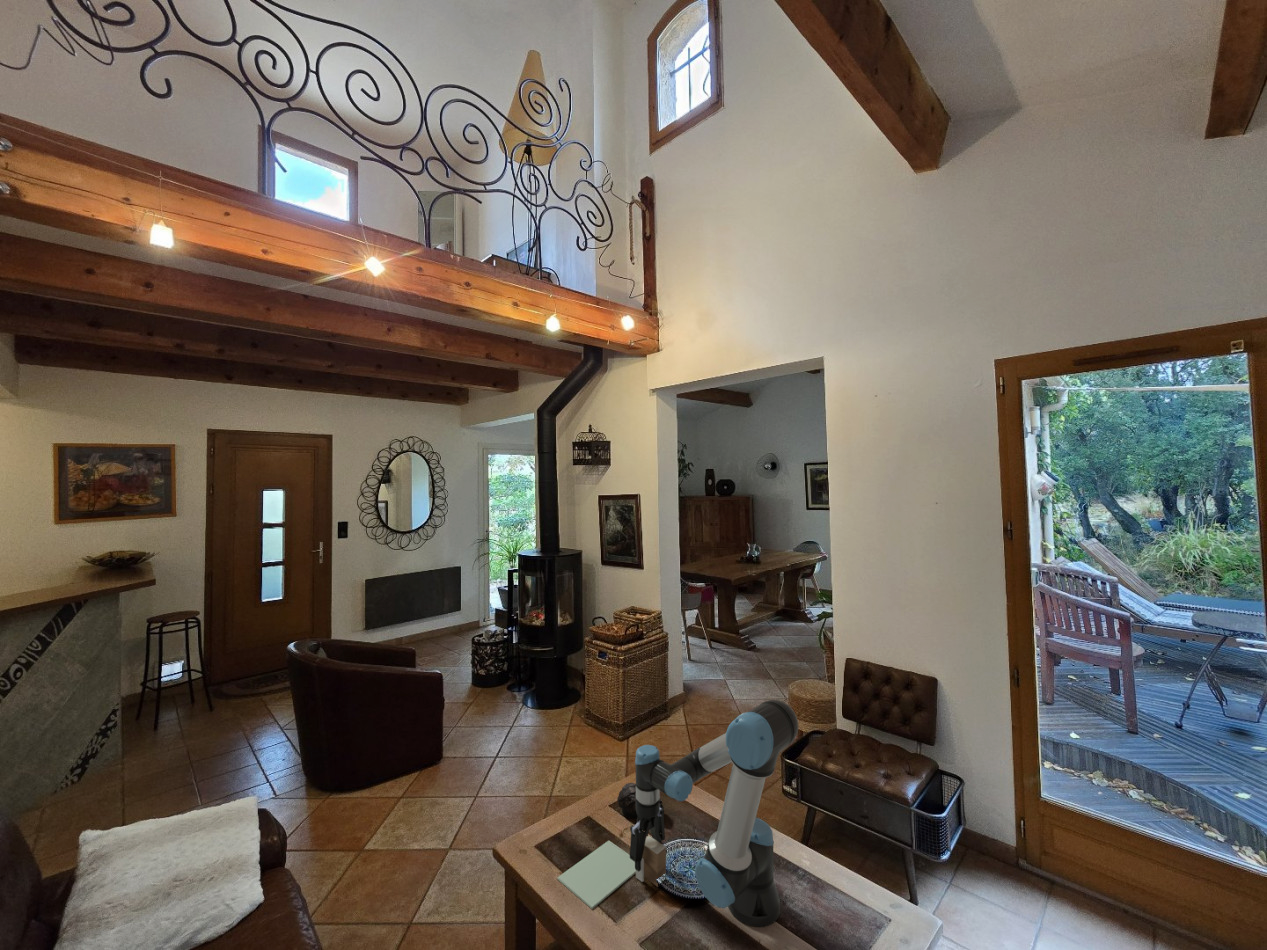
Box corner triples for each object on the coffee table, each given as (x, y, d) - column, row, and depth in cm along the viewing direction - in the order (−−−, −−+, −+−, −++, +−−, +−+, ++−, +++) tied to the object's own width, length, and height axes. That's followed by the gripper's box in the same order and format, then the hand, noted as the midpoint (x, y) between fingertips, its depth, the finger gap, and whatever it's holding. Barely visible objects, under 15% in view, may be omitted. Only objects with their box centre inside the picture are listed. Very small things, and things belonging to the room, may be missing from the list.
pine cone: (661, 826, 179) (661, 798, 179) (614, 818, 184) (614, 790, 184) (667, 808, 189) (667, 781, 189) (622, 800, 194) (622, 774, 194)
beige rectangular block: (666, 879, 155) (665, 846, 155) (657, 886, 152) (657, 853, 152) (649, 867, 160) (649, 835, 160) (640, 874, 157) (640, 842, 157)
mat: (643, 866, 160) (643, 864, 160) (591, 909, 144) (591, 907, 144) (608, 842, 171) (608, 840, 171) (557, 879, 155) (557, 877, 155)
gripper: (658, 779, 168) (659, 849, 167) (616, 807, 153) (617, 884, 153) (676, 789, 162) (676, 861, 162) (634, 819, 148) (635, 898, 148)
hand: (647, 872), depth 158 cm, fingers open, 7 cm apart
